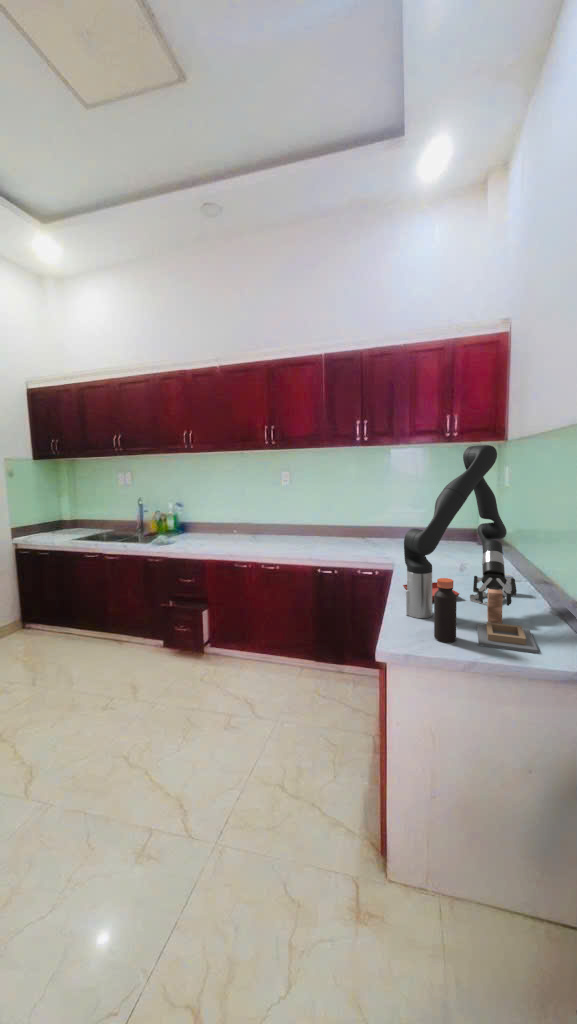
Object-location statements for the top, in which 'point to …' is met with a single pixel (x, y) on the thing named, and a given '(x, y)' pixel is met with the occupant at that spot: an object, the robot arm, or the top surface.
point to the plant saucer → (434, 590)
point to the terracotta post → (494, 606)
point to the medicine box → (507, 576)
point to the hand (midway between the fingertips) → (494, 603)
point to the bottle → (445, 611)
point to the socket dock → (506, 637)
